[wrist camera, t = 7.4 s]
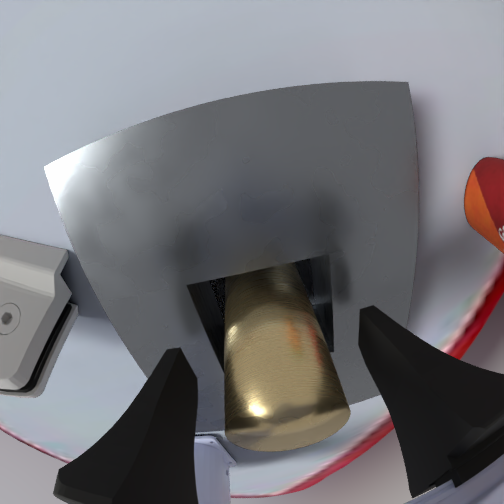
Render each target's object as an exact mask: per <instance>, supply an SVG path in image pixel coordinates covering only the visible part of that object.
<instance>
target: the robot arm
mask: <svg viewBox="0 0 504 504" xmlns="http://www.w3.org/2000/svg"><path fill="white" fill-rule="evenodd" d="M358 346H359V348H360V351H361V354H362V357H363V359H364V362H365V365H366V367H367V369H368V371H369V372H370V374H371V376H372V378H373V380H374V382H375V384H376V386H377V388H378V390H379V392H380V394H381V396H382V398H383V400H384V402H385V404H386V406H387V408H388V410H389V413H390V415H391V418H392V421H393V424H394V427H395V430H396V433H397V437H398V440H399V443H400V447H401V451H402V455H403V458H404V463H405V467H406V472H407V478H408V482H409V490H410V493H411V496H412V498H414V497H416V496H418V495H421V494H423V493H425V492H426V491H429V490H431V489H432V488H434V487H436V488H435V489H433V490H431V491H429V492H427V493H426V494H424V495H422V496H420V497H418V498H415V499H413V500H411V501H409V502H407V503H405V504H504V374H500V373H496V372H492V371H489V370H485V369H482V368H479V367H476V366H473V365H471V364H468V363H466V362H463V361H461V360H459V359H456V358H454V357H452V356H450V355H448V354H446V353H444V352H442V351H440V350H438V349H437V348H435V347H433V346H431V345H430V344H428V343H426V342H425V341H423V340H422V339H420V338H419V337H417V336H415V335H414V334H413V333H411V332H410V331H408V330H407V329H405V328H404V327H403V326H401V325H400V324H398V323H397V322H396V321H394V320H393V319H392V318H390V317H389V316H388V315H386V314H385V313H384V312H382V311H381V310H380V309H378V308H377V307H375V306H374V305H372V306H368V307H365V308H362V309H360V313H359V336H358ZM197 408H198V380H197V377H196V375H195V373H194V371H193V370H192V368H191V366H190V364H189V362H188V360H187V359H186V357H185V355H184V353H183V351H182V349H181V347H179V348H172V349H167V350H166V351H165V353H164V354H163V356H162V357H161V359H160V361H159V362H158V364H157V365H156V367H155V369H154V370H153V372H152V373H151V375H150V377H149V378H148V380H147V381H146V383H145V384H144V386H143V388H142V389H141V391H140V392H139V394H138V395H137V396H136V398H135V399H134V401H133V402H132V403H131V405H130V406H129V408H128V409H127V410H126V411H125V413H124V414H123V415H122V416H121V417H120V419H119V420H118V421H117V422H116V423H115V424H114V426H113V427H112V428H111V429H110V430H109V431H108V432H107V433H106V434H105V435H104V436H103V437H102V438H101V439H99V440H98V441H97V442H96V443H95V444H94V445H93V446H92V447H90V448H89V449H88V450H87V451H86V452H84V453H83V454H82V455H80V456H79V457H78V458H76V459H75V460H73V461H72V462H70V463H68V464H67V465H65V466H64V467H62V468H60V469H59V472H58V475H57V479H56V484H55V488H54V492H53V494H54V496H55V497H57V498H59V499H60V500H62V501H64V502H66V503H68V504H230V478H229V467H230V466H236V465H237V463H236V462H235V460H234V459H233V458H232V457H231V456H230V455H229V453H228V452H227V451H226V450H225V449H224V447H223V446H222V445H221V444H220V443H219V441H218V440H217V439H216V438H215V437H214V436H195V430H196V419H197Z"/></svg>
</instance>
